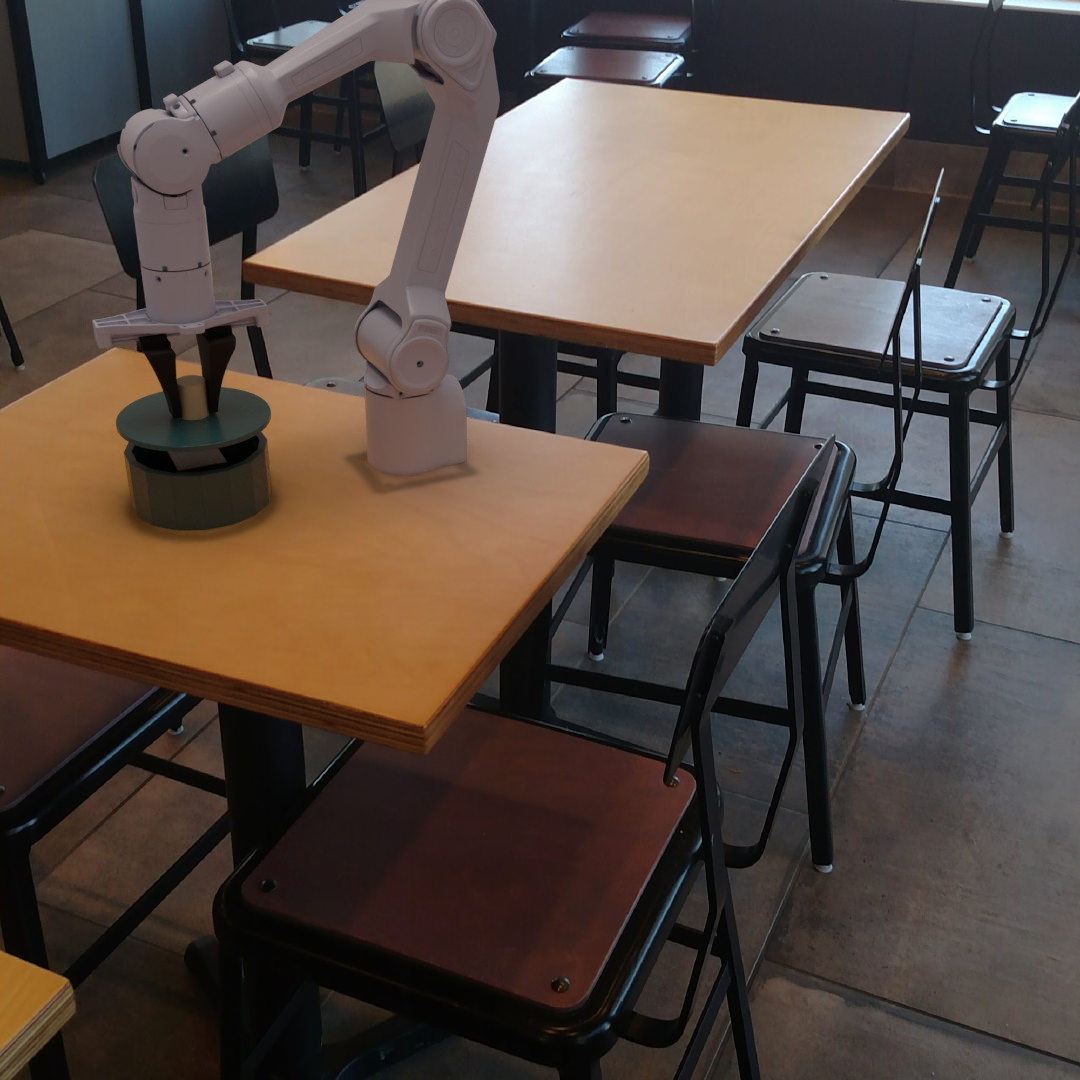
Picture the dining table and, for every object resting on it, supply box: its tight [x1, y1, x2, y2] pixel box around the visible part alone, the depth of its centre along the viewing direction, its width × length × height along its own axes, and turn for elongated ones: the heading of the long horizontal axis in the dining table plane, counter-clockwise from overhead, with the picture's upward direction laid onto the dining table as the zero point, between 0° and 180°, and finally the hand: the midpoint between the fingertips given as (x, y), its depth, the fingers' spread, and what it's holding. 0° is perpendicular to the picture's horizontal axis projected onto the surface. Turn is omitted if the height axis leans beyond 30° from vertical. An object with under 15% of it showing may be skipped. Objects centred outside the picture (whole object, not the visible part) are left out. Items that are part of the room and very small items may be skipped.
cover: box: [115, 374, 272, 452], centre depth 111 cm, size 13×13×4 cm
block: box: [167, 448, 228, 473], centre depth 115 cm, size 4×4×4 cm
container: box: [123, 431, 273, 531], centre depth 114 cm, size 12×12×6 cm
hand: (193, 411), depth 111 cm, fingers closed on cover, 2 cm apart
